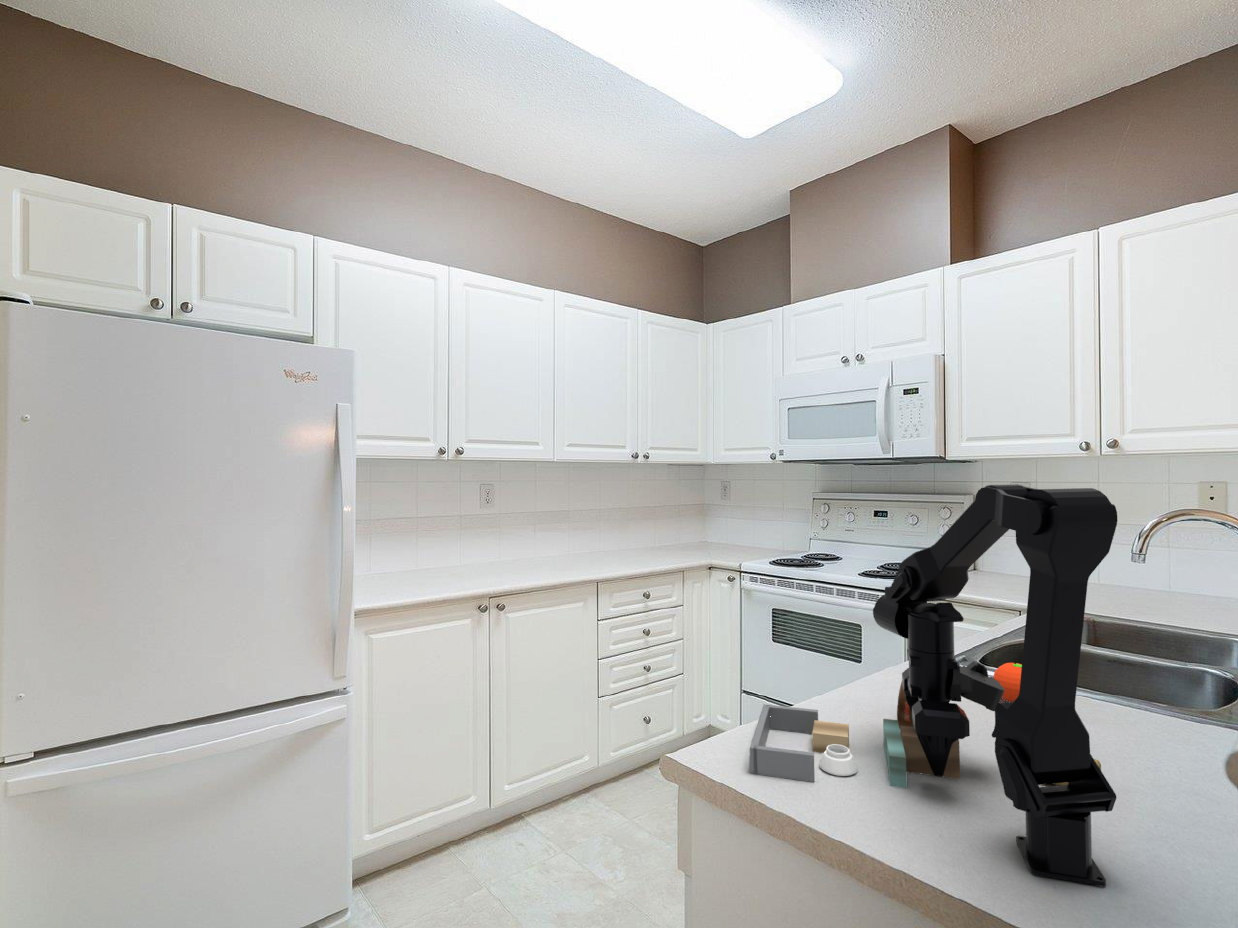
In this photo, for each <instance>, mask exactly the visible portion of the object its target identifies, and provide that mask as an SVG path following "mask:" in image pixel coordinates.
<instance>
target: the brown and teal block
mask: <svg viewBox="0 0 1238 928" xmlns="http://www.w3.org/2000/svg"><path fill="white" fill-rule="evenodd" d="M882 722H883V723H882V724H883V729H882V730H883V749H885V750H884V754H885V761H886V767H887V768H886V769H887V774H888V780H889V781H888V782H889V786H890V787H897V788H902V789H903V788H904V789H907V788H908V786H907V783H908V782H907V778H908V777H907V773H911V772H914V774H919V773H922V774H921V775H926V774H930V775H929V776H934V774H933V772H932V770H931V767H930V765H929V762H928V760H927V758H926V755H925V753H924V751H923V748H922V746H921V743H920V741H919V739H918V736H917V734H916V732H915V729H914V727H908V726H900V729H899V724H898V720H897V719H888V718H883V719H882ZM960 754H961V753H960V739H959V740H957V741H955V742H954V743H953V744H952V747H951V750H950V753H949V757H948V760H947V764H946V768H945V771H944V775H943V776H944V777H943V778H950V777H952V779H958V778H959V780H960V779H961V761H960V760H961V758H960Z"/></svg>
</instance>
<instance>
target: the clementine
mask: <svg viewBox="0 0 1238 928" xmlns="http://www.w3.org/2000/svg"><path fill="white" fill-rule="evenodd" d="M1021 670H1022V663H1017V662H1006V663H1003V664H1002V665H1000V666H998V667H997V669H996V670H995V672H994V674H993V676H992V677H993V678H994V679H995V680H997V681H998V682H999V683H1000V684H1001V685H1002V687H1003V688H1004V690H1005V691H1004V693H1003V696H1002V698H1001V699H1004V701H1006V702H1014V701H1015V699H1016V698H1017V697H1018V695H1019V692H1020V681H1021Z"/></svg>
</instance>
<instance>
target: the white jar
mask: <svg viewBox="0 0 1238 928" xmlns="http://www.w3.org/2000/svg"><path fill="white" fill-rule="evenodd" d="M819 768H820V769H822V771H824V772H826V773H828V774H830V775H832V776H839V777H847V776H848V777H849V776H853V775H855V774H857V772H858V771H859V767H858V764H857V762H856V760H855V758H854V756H853V754H852V753H851V750H850V747H849V748H847V747H846V746H843V745H838V744H832V745H828V746H827V748H826V751H825V752H824V753H822V755H821V758H820V759H819Z"/></svg>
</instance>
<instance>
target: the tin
mask: <svg viewBox="0 0 1238 928" xmlns="http://www.w3.org/2000/svg"><path fill="white" fill-rule="evenodd" d="M908 690H909V687H908ZM897 696H898V697H897V706H896V707H897V708H896V720H898V724H899V729H900V726H908V727H914V726H913V718H912V713H911V710H910V708H909V705H908V703H907V700H906V698H905V694H904V689H903V686H902V681H901V683H900V685H899V690H898V695H897Z"/></svg>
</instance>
